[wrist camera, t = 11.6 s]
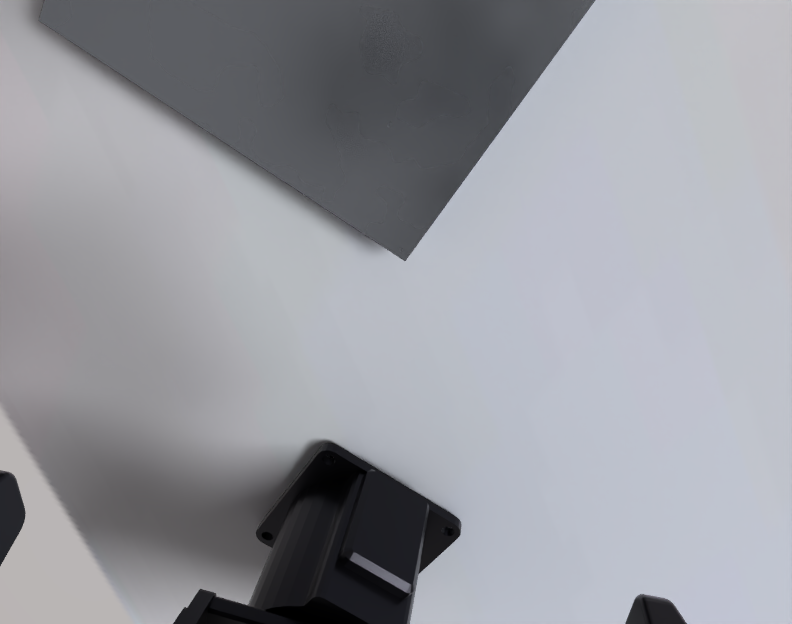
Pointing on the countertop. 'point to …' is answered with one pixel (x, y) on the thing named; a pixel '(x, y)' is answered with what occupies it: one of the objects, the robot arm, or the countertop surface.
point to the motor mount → (337, 87)
